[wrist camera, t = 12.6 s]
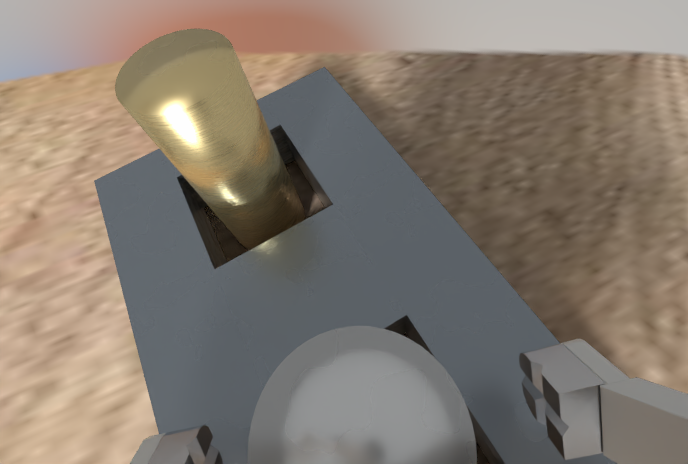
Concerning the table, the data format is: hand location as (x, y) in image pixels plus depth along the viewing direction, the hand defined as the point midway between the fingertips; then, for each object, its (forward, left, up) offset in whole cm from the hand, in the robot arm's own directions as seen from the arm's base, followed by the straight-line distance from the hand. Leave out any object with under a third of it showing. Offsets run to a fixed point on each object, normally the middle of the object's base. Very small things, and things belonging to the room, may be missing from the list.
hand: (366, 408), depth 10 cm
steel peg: (0, -1, -7) cm, 7 cm away
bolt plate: (0, +5, -7) cm, 9 cm away
